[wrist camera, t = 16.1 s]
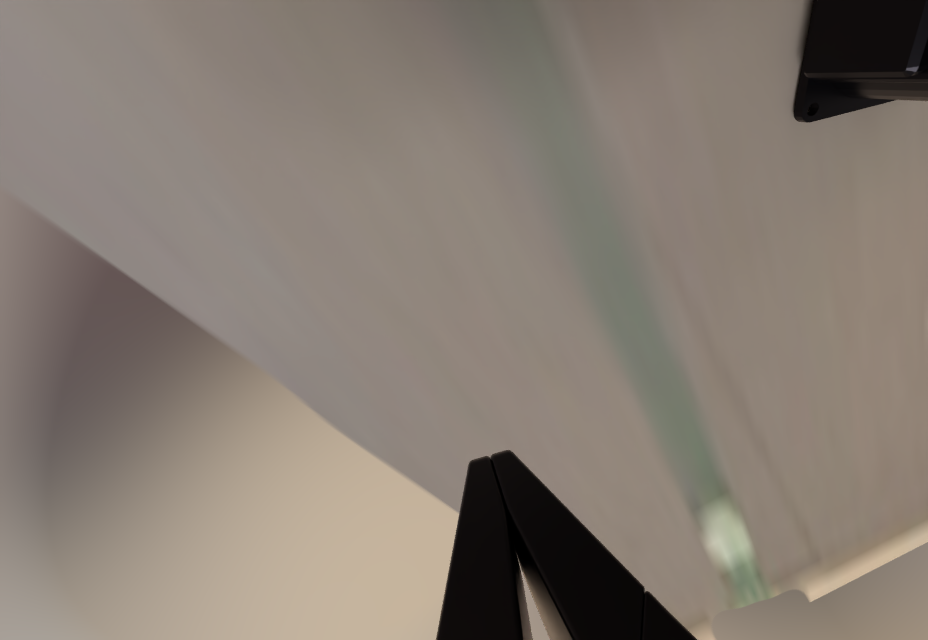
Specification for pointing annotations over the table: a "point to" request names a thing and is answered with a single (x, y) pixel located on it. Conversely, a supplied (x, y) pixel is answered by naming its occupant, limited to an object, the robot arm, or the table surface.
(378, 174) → the table surface
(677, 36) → the table surface
